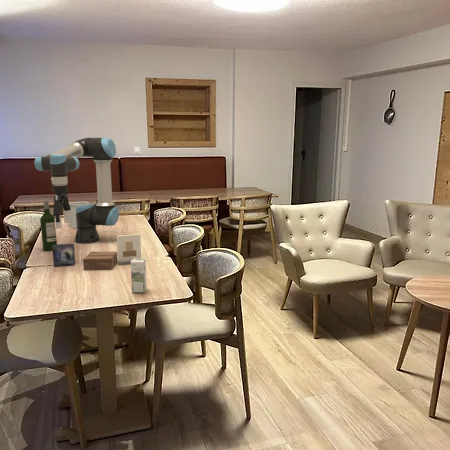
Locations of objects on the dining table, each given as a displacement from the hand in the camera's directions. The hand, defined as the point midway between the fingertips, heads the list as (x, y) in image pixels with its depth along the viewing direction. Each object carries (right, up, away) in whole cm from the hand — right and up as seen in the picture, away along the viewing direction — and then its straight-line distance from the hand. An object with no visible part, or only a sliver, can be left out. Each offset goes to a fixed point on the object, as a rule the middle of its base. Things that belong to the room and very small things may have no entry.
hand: (63, 225), depth 228 cm
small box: (-1, -21, +5) cm, 21 cm away
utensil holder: (-22, -1, +94) cm, 97 cm away
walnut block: (+19, -21, +2) cm, 29 cm away
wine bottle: (-20, -14, +32) cm, 41 cm away
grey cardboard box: (+33, -20, +7) cm, 39 cm away
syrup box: (+46, -29, -33) cm, 64 cm away
